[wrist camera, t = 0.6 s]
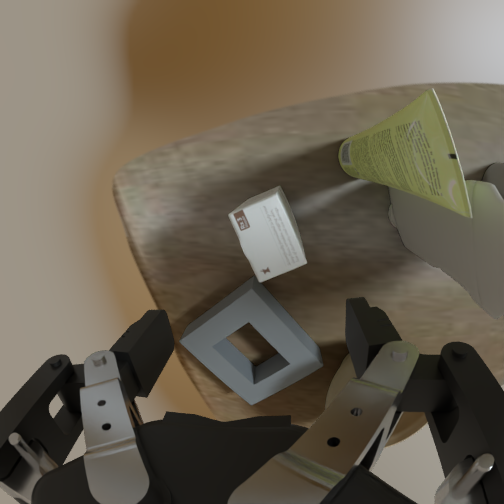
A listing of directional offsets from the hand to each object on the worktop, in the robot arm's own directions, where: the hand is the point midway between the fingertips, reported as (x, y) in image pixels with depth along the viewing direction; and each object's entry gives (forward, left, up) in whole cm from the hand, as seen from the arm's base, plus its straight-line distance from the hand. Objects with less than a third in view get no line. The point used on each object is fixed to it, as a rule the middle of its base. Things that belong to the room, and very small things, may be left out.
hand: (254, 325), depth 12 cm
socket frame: (+4, +15, -22) cm, 27 cm away
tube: (-12, -6, -22) cm, 26 cm away
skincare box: (-1, -1, -22) cm, 22 cm away
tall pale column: (-17, +1, -22) cm, 28 cm away
